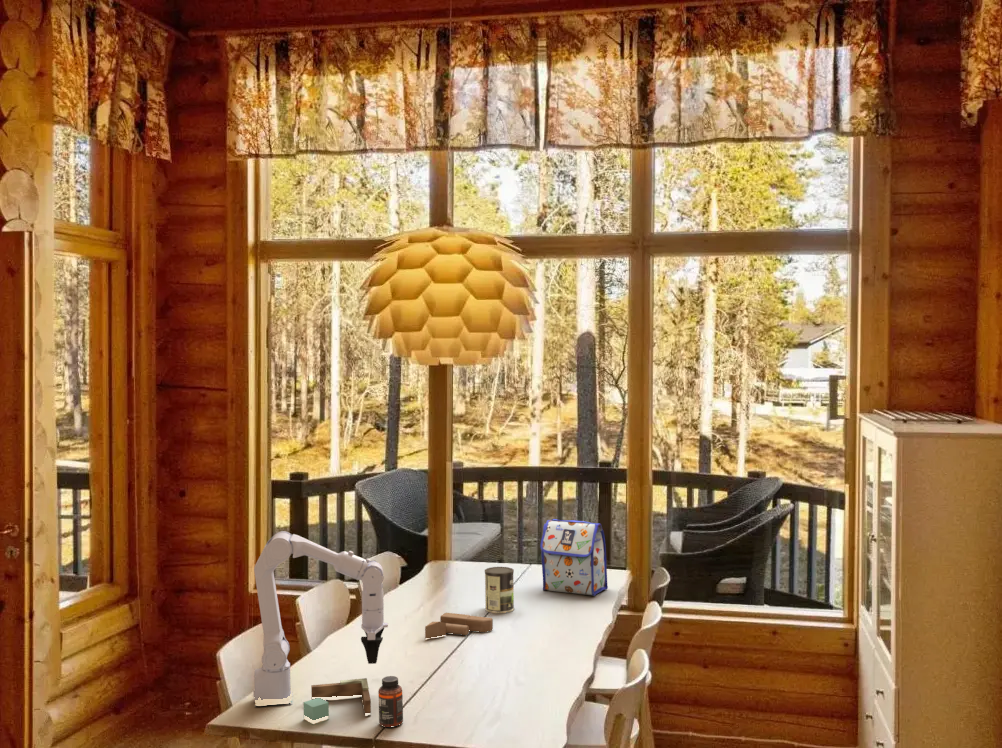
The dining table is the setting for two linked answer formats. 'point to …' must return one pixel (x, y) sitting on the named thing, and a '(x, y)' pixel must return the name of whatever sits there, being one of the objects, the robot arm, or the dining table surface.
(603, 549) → the lunch bag
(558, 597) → the dining table surface
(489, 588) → the coffee can
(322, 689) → the corner arena
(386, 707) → the supplement bottle
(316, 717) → the teal cube
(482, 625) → the wooden block set
